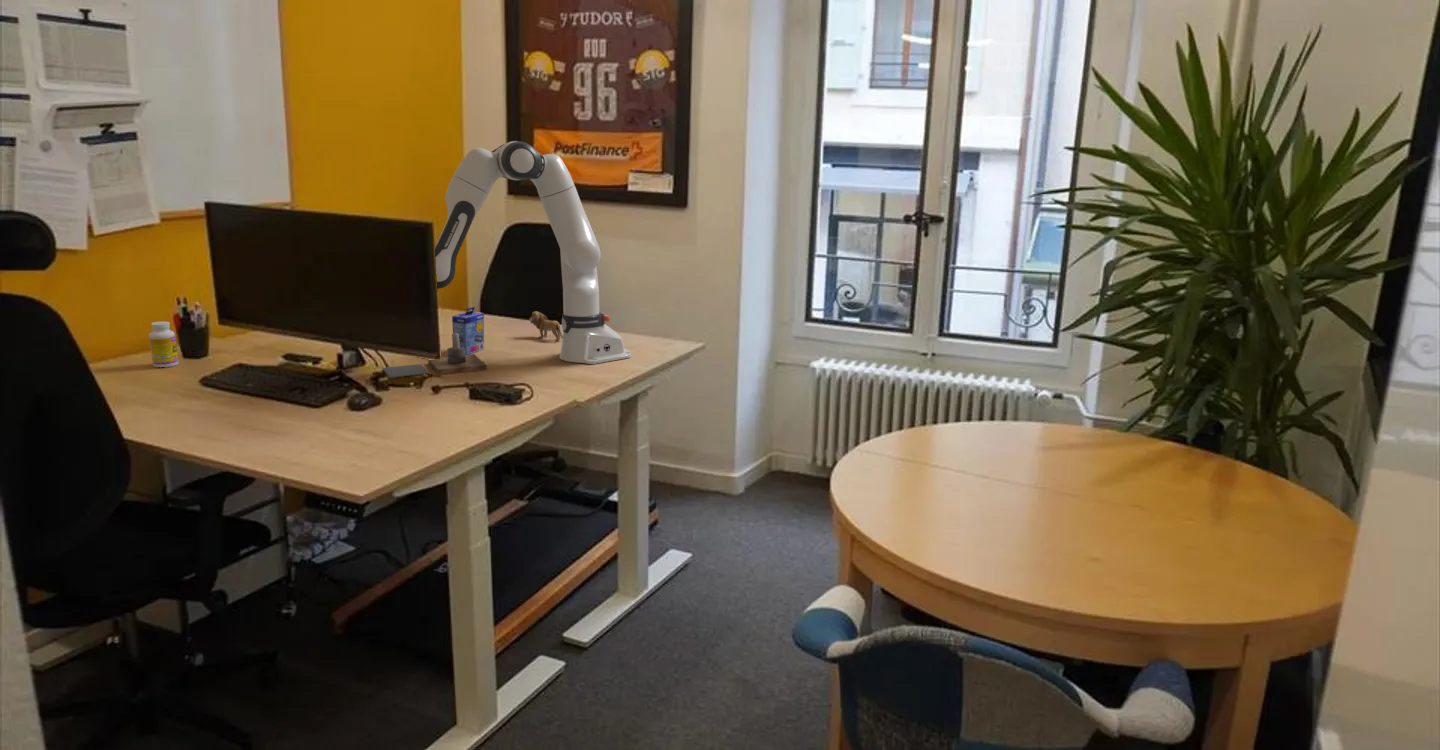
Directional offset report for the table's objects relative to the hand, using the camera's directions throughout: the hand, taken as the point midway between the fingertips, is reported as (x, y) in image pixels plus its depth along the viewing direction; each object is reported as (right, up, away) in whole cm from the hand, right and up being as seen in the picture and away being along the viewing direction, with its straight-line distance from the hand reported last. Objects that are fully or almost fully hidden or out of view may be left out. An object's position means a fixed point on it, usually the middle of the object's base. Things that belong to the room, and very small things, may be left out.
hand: (403, 341), depth 279 cm
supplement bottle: (-72, -7, +4) cm, 72 cm away
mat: (0, -9, +2) cm, 9 cm away
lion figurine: (+34, +2, +46) cm, 57 cm away
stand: (+13, -7, +9) cm, 18 cm away
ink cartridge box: (+12, -2, +28) cm, 30 cm away
